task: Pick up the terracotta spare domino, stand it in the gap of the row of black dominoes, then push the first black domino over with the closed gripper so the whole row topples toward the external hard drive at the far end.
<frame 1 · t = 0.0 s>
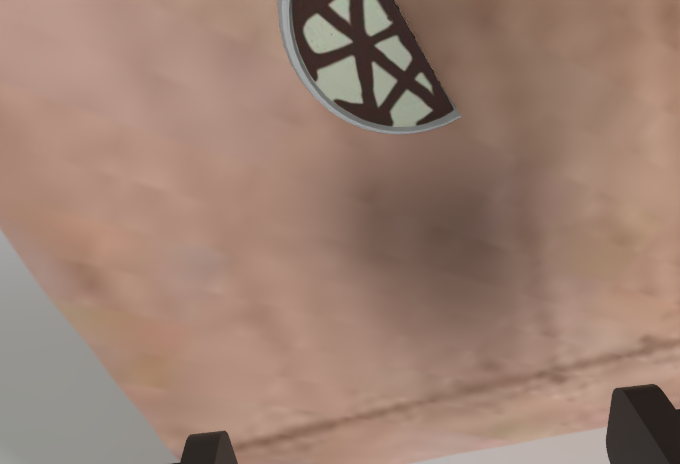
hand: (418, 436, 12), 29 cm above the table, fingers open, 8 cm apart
food container: (344, 21, 36), on the table
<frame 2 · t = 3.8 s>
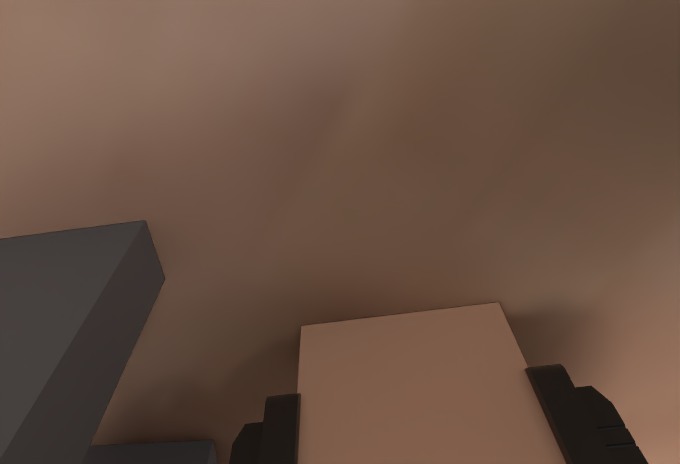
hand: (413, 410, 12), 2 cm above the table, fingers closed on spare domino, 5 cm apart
domino 1: (51, 263, 13), on the table
spare domino: (401, 338, 15), on the table, touching gripper
domino 2: (123, 452, 16), on the table, tilted 90°
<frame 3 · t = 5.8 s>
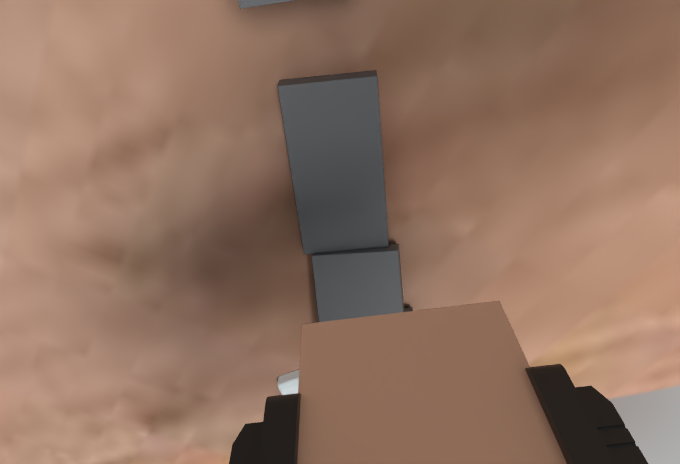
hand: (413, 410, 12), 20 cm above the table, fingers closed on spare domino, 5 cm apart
spare domino: (402, 337, 15), point 18 cm above the table, touching gripper
external hard drive: (381, 381, 41), on the table
domino 4: (355, 249, 33), point 1 cm above the table, tilted 73°, touching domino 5
domino 2: (327, 77, 29), on the table, tilted 90°
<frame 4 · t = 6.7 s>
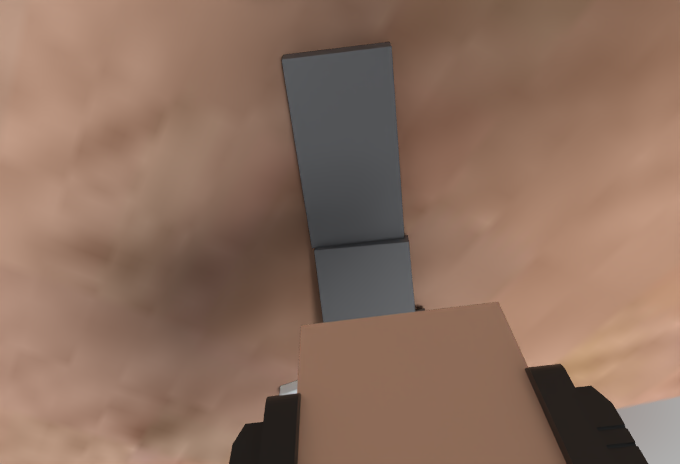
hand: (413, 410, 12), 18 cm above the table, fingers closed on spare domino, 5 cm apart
spare domino: (401, 338, 15), point 16 cm above the table, touching gripper
domino 4: (361, 242, 30), point 1 cm above the table, tilted 73°, touching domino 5
domino 2: (336, 49, 26), on the table, tilted 90°
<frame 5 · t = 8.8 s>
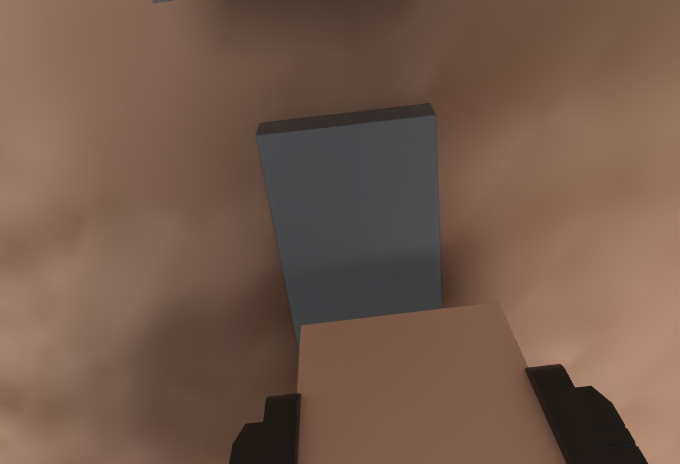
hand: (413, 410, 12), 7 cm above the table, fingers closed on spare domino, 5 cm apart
spare domino: (401, 338, 15), point 5 cm above the table, touching gripper
domino 2: (344, 116, 16), on the table, tilted 90°
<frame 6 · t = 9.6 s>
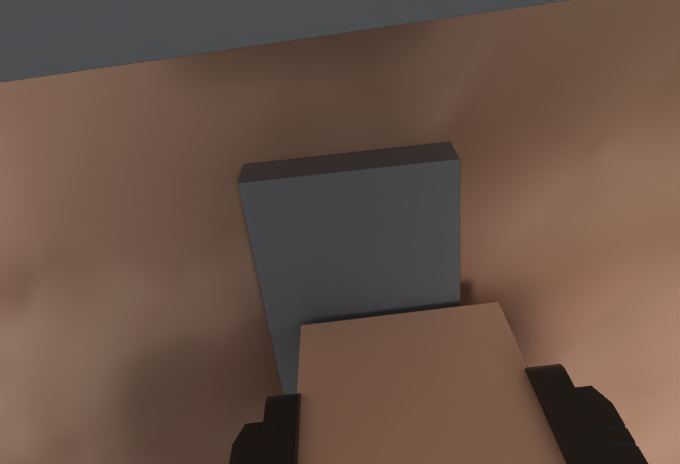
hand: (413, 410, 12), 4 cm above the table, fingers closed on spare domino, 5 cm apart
spare domino: (401, 338, 15), point 1 cm above the table, touching gripper
domino 2: (346, 158, 13), on the table, tilted 90°
when the fingers open (3 cm above the table, at t = 10.5 s): spare domino stays where it is, resting on domino 2.
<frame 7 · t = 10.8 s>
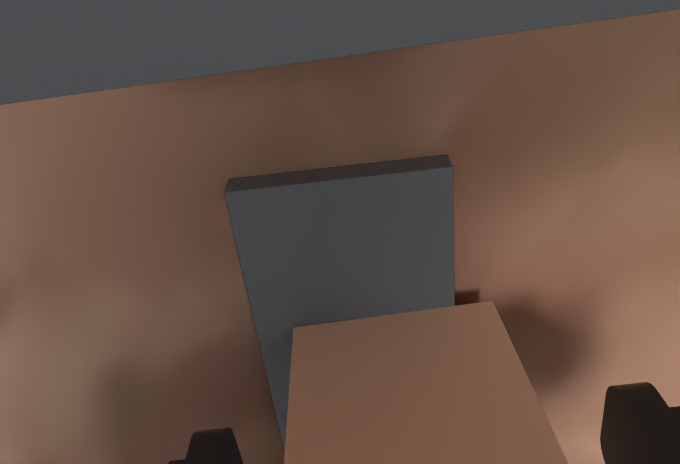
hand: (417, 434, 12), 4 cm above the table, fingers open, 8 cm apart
spare domino: (395, 339, 14), point 1 cm above the table, touching domino 2
domino 2: (337, 165, 13), on the table, tilted 90°, touching spare domino
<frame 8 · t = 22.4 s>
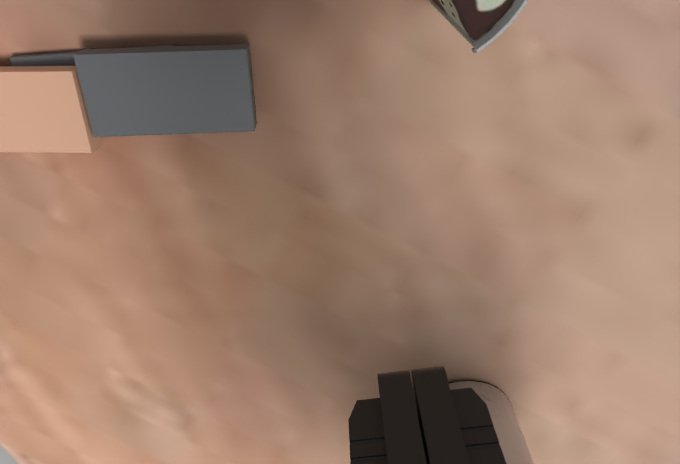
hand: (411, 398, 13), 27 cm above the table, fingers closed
domino 1: (251, 88, 35), point 1 cm above the table, tilted 88°
spare domino: (88, 109, 35), point 2 cm above the table, tilted 96°, touching domino 2
domino 2: (183, 84, 36), on the table, tilted 90°, touching spare domino
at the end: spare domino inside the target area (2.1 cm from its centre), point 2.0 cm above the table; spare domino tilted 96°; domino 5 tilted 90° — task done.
